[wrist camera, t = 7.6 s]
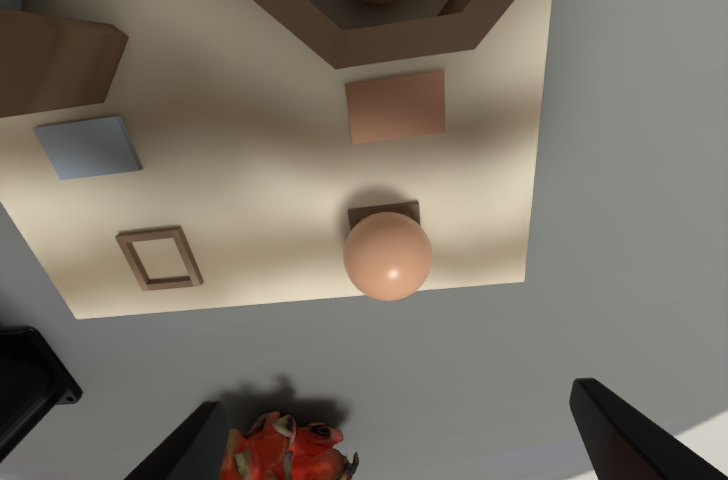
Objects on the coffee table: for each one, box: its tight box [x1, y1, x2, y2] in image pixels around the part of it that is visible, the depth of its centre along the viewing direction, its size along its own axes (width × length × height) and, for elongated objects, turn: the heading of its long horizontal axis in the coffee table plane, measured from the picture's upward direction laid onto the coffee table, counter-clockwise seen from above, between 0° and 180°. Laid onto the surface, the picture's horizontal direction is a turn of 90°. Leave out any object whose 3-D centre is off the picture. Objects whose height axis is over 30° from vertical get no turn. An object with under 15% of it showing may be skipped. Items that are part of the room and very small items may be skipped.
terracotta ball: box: [343, 212, 432, 301], centre depth 16 cm, size 4×4×4 cm
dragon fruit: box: [219, 411, 359, 480], centre depth 23 cm, size 8×8×12 cm
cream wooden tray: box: [0, 0, 552, 319], centre depth 12 cm, size 19×26×8 cm
